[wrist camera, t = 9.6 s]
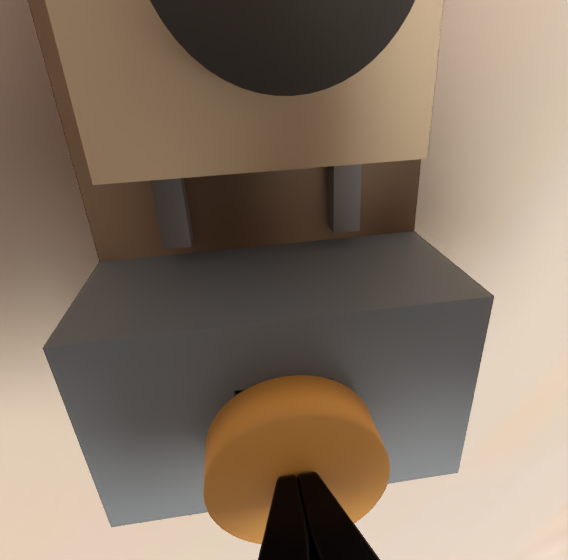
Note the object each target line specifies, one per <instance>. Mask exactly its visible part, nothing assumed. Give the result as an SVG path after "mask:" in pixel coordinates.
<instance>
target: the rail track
mask: <svg viewBox="0 0 568 560" xmlns="http://www.w3.org/2000/svg"><path fill="white" fill-rule="evenodd" d="M28 2H29V6H30V10H31V13H32V17H33V21H34V24H35V28H36V32H37V35H38V39H39V42H40V46H41V50H42V53H43V57H44V61H45V64H46V68H47V72H48V75H49V79H50V83H51V86H52V90H53V93H54V97H55V101H56V104H57V108H58V112H59V115H60V119H61V123H62V126H63V130H64V134H65V137H66V141H67V144H68V148H69V152H70V155H71V159H72V163H73V166H74V170H75V174H76V177H77V181H78V184H79V188H80V192H81V195H82V199H83V203H84V206H85V210H86V214H87V217H88V221H89V225H90V228H91V232H92V235H93V239H94V243H95V246H96V250H97V254H98V257H99V261H110V260H120V259H131V258H141V257H151V256H162V255H172V254H182V253H193V252H203V251H213V250H224V249H234V248H245V247H255V246H265V245H276V244H286V243H296V242H307V241H317V240H327V239H338V238H348V237H359V236H369V235H379V234H390V233H400V232H410V231H414V225H415V215H416V205H417V195H418V184H419V174H420V164H421V159H417V160H404V161H392V162H379V163H366V164H354V165H341V166H328V167H316V168H303V169H290V170H278V171H265V172H252V173H240V174H227V175H215V176H202V177H189V178H177V179H164V180H151V181H139V182H126V183H113V184H101V185H93V184H92V180H91V176H90V172H89V168H88V164H87V160H86V157H85V153H84V149H83V145H82V141H81V137H80V133H79V130H78V126H77V122H76V118H75V114H74V110H73V106H72V103H71V99H70V95H69V91H68V87H67V83H66V79H65V76H64V72H63V68H62V64H61V60H60V56H59V52H58V49H57V45H56V41H55V37H54V33H53V29H52V25H51V22H50V18H49V14H48V10H47V6H46V2H45V0H28Z"/></svg>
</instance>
